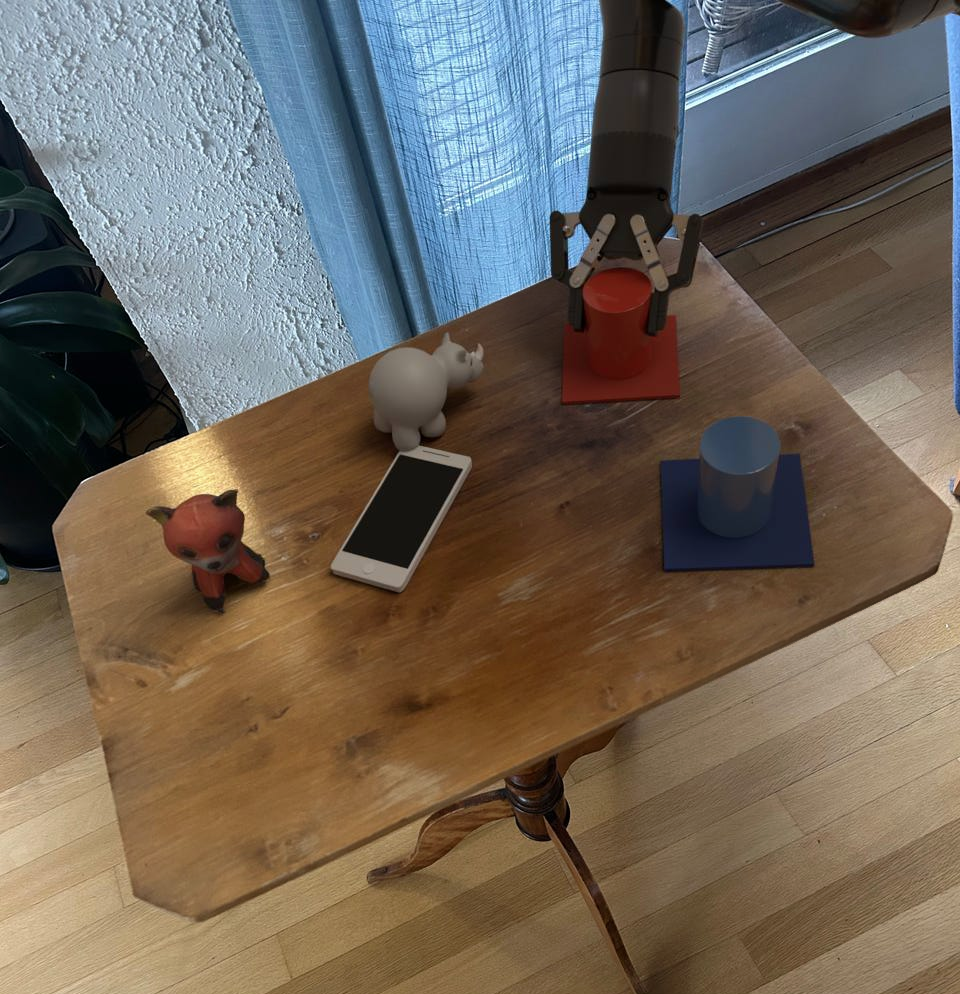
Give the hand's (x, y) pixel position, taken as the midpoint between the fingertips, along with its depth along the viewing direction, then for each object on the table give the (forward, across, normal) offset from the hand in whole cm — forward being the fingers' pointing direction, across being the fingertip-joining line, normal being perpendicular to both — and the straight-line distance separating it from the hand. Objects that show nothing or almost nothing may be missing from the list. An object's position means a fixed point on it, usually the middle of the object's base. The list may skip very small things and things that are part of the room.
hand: (615, 333), depth 95 cm
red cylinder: (+2, 0, +4) cm, 5 cm away
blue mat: (+15, +13, -8) cm, 21 cm away
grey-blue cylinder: (+14, +13, -8) cm, 21 cm away
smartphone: (+18, -16, -11) cm, 26 cm away
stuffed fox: (+23, -30, -16) cm, 41 cm away
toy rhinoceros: (+9, -16, -2) cm, 19 cm away
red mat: (+2, 0, +4) cm, 5 cm away
